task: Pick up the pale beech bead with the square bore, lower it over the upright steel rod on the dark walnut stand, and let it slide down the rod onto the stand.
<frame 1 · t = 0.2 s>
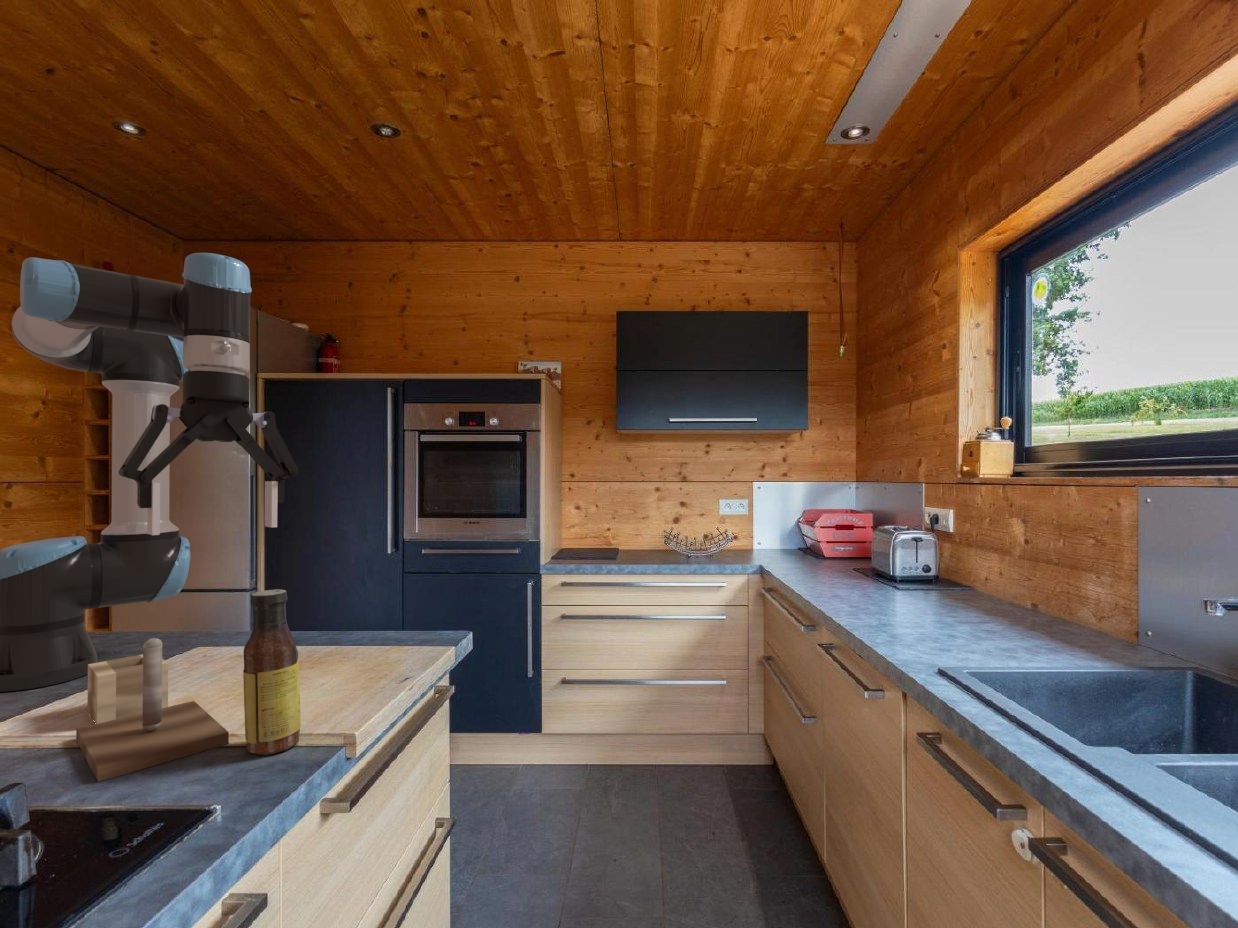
hand: (215, 530, 82), 27 cm above the counter, tool pointing down, fingers open, 13 cm apart
sauce bottle: (272, 747, 78), on the counter
rod stand: (151, 741, 79), on the counter
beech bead: (127, 711, 89), on the counter
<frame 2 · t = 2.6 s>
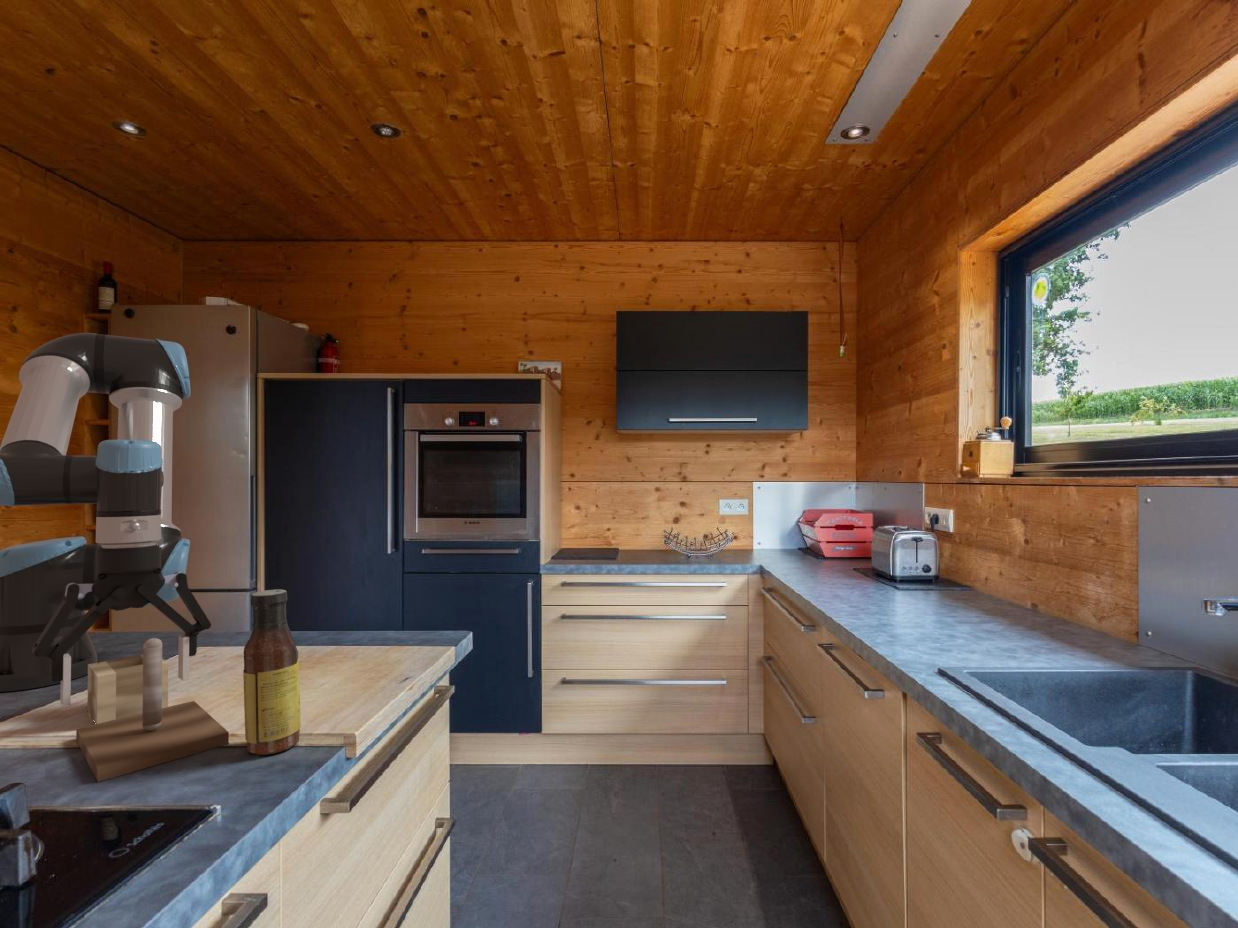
hand: (127, 690, 89), 3 cm above the counter, tool pointing down, fingers open, 13 cm apart
nothing on the counter moved.
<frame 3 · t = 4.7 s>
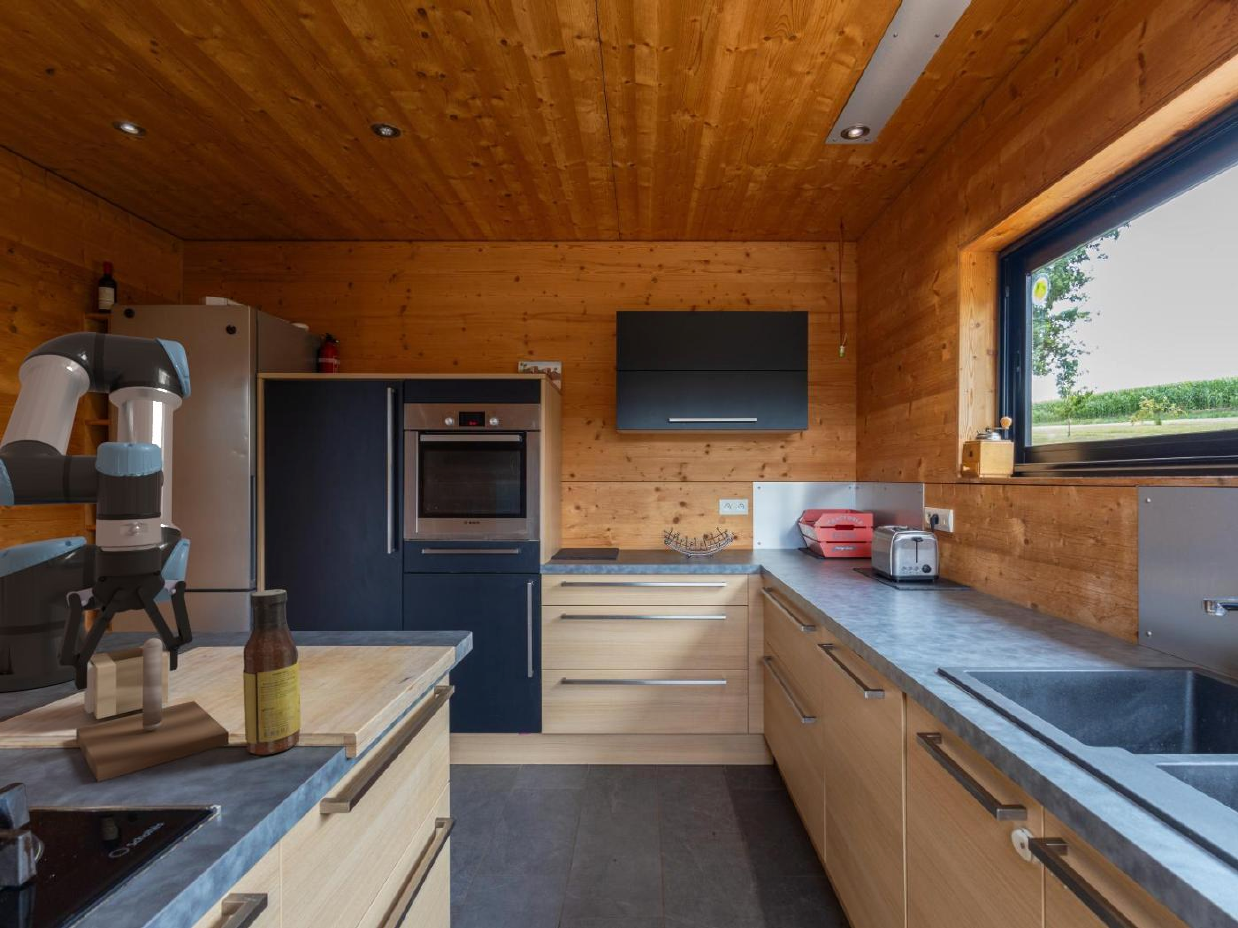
hand: (128, 700, 90), 1 cm above the counter, tool pointing down, fingers closed on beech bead, 8 cm apart
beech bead: (127, 702, 90), point 1 cm above the counter, touching gripper
everything else where it was.
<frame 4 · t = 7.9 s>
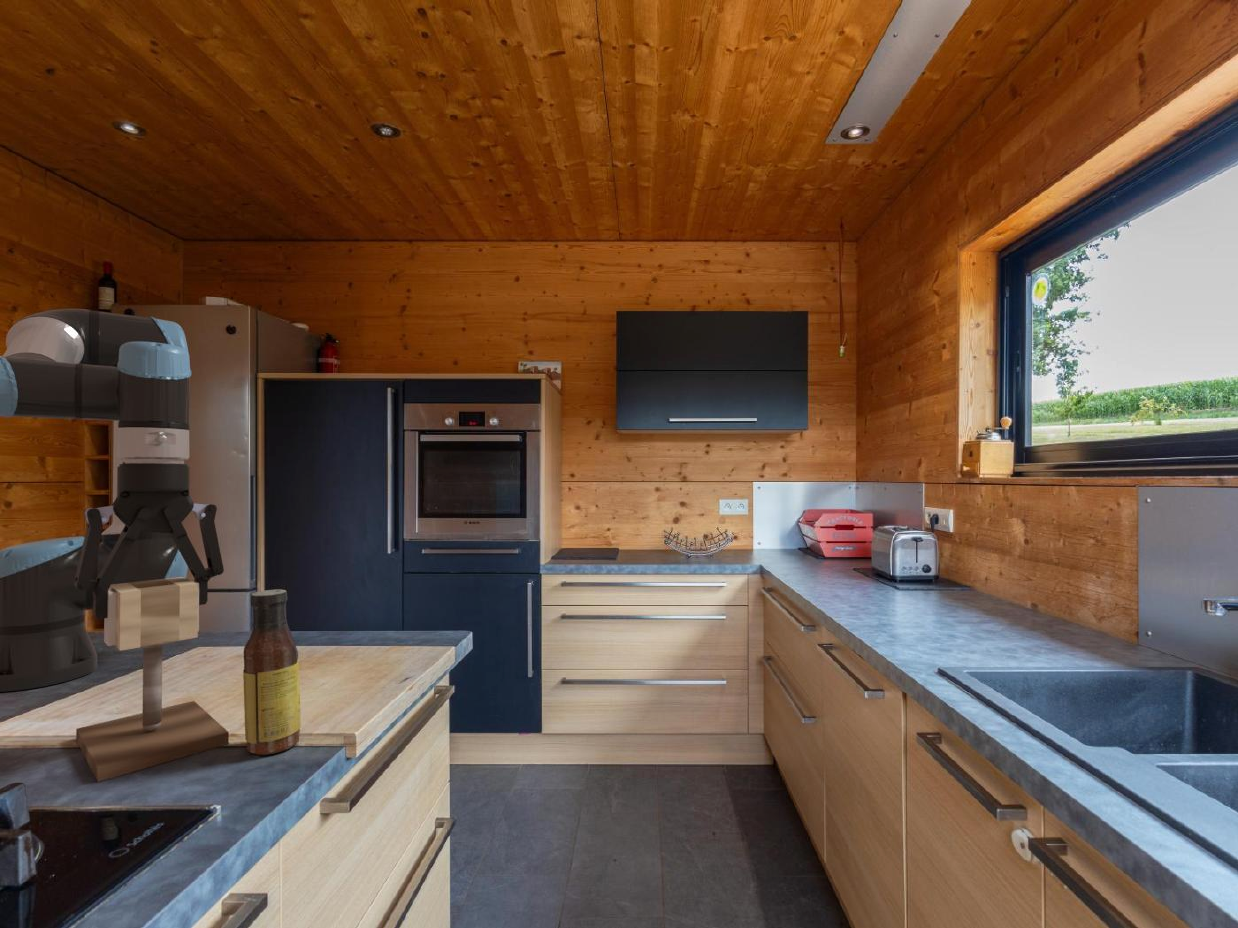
hand: (152, 636, 79), 14 cm above the counter, tool pointing down, fingers closed on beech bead, 8 cm apart
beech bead: (152, 637, 79), point 14 cm above the counter, touching gripper
everything else where it was.
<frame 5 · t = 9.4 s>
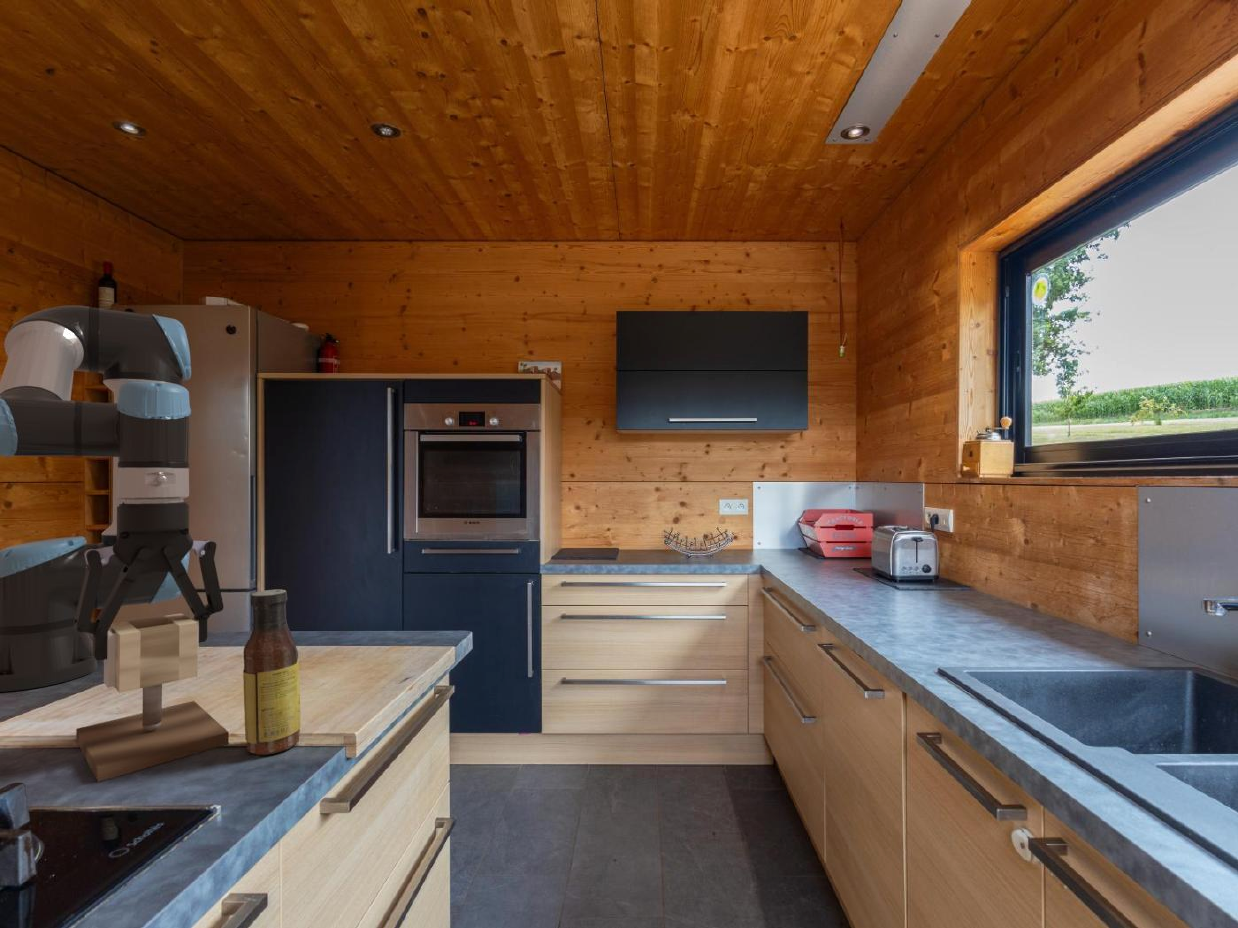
hand: (152, 675, 79), 9 cm above the counter, tool pointing down, fingers closed on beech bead, 8 cm apart
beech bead: (152, 677, 79), point 8 cm above the counter, touching gripper
everything else where it was.
when the fingers open (5 cm above the counter, at t = 11.0 s): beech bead drops 3 cm, resting on rod stand.
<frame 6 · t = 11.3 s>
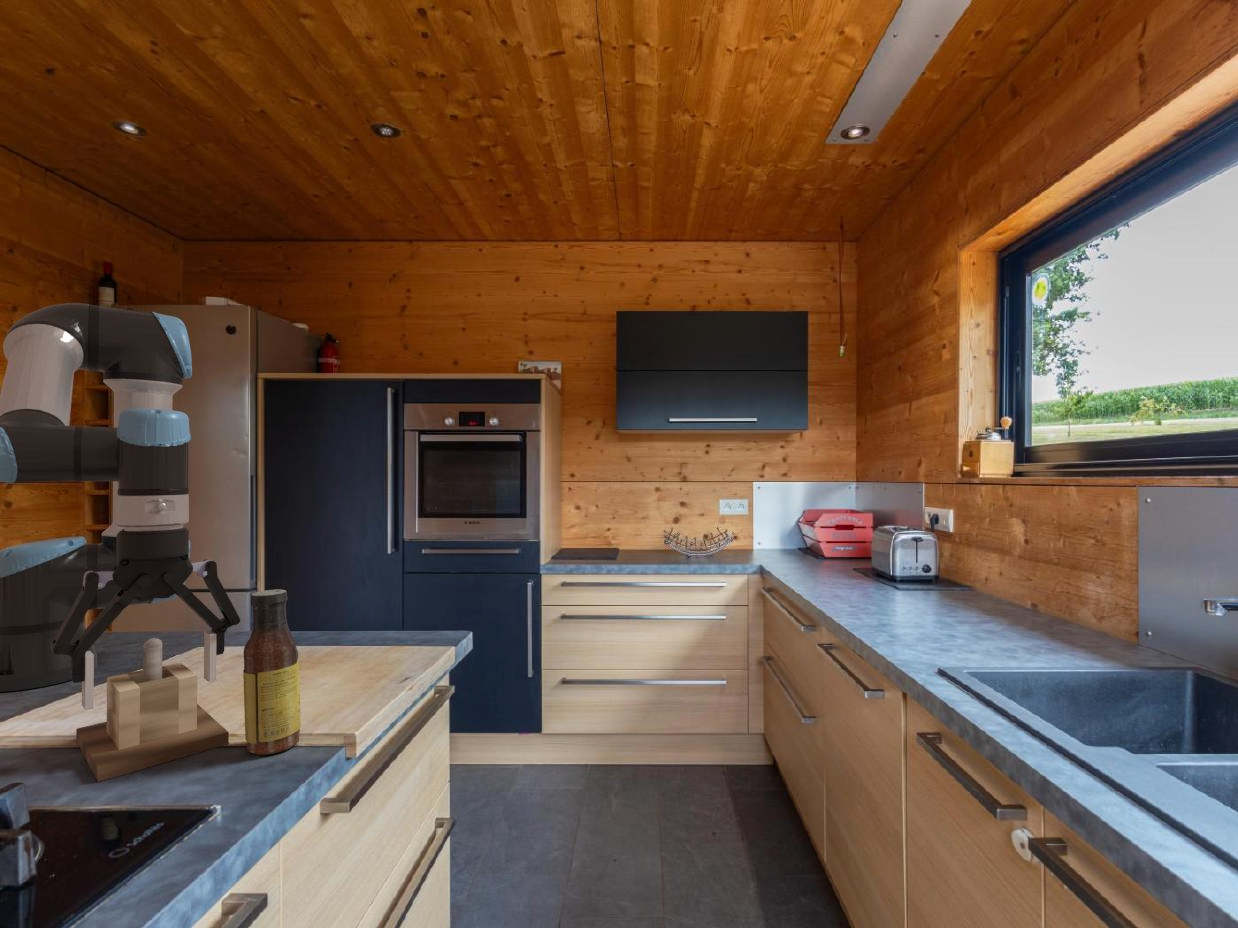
hand: (152, 692, 79), 6 cm above the counter, tool pointing down, fingers open, 12 cm apart
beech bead: (151, 729, 80), point 1 cm above the counter, touching rod stand
everything else where it was.
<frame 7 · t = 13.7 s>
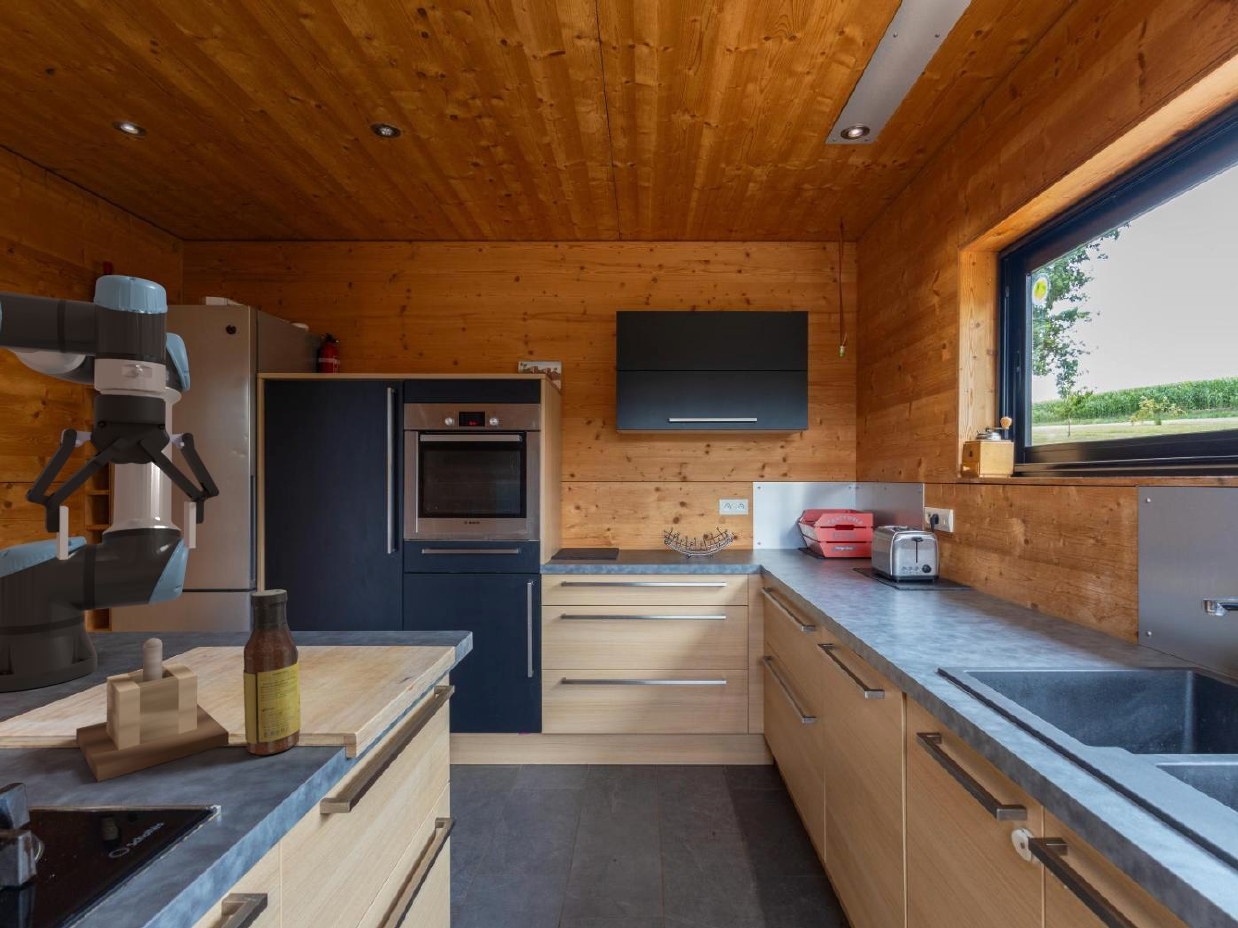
hand: (129, 552, 82), 24 cm above the counter, tool pointing down, fingers open, 13 cm apart
nothing on the counter moved.
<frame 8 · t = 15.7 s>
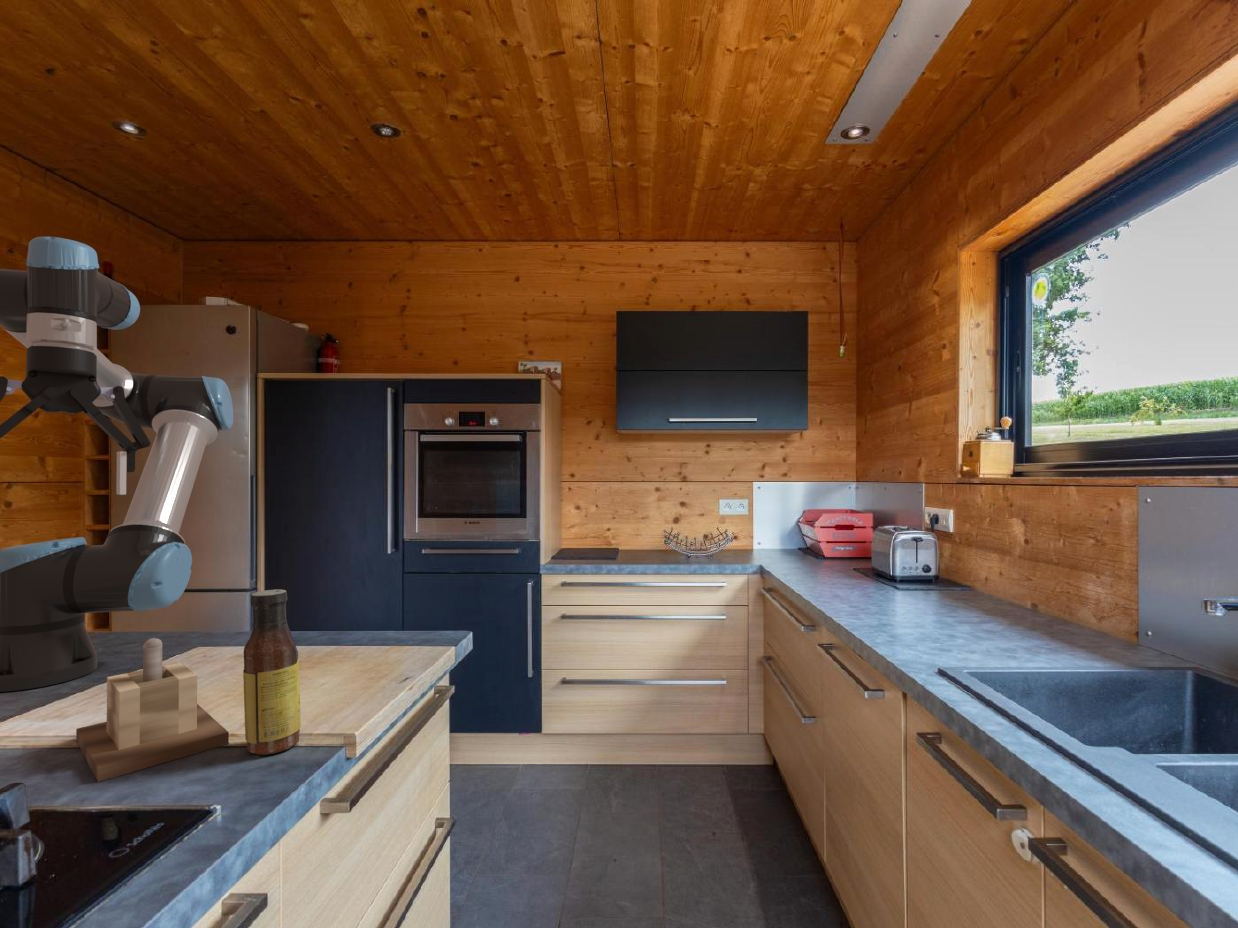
hand: (61, 496, 88), 32 cm above the counter, tool pointing down, fingers open, 13 cm apart
nothing on the counter moved.
at the end: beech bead 0.2 cm from the rod stand (horizontally); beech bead point 1.5 cm above the counter; the gripper is holding nothing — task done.
